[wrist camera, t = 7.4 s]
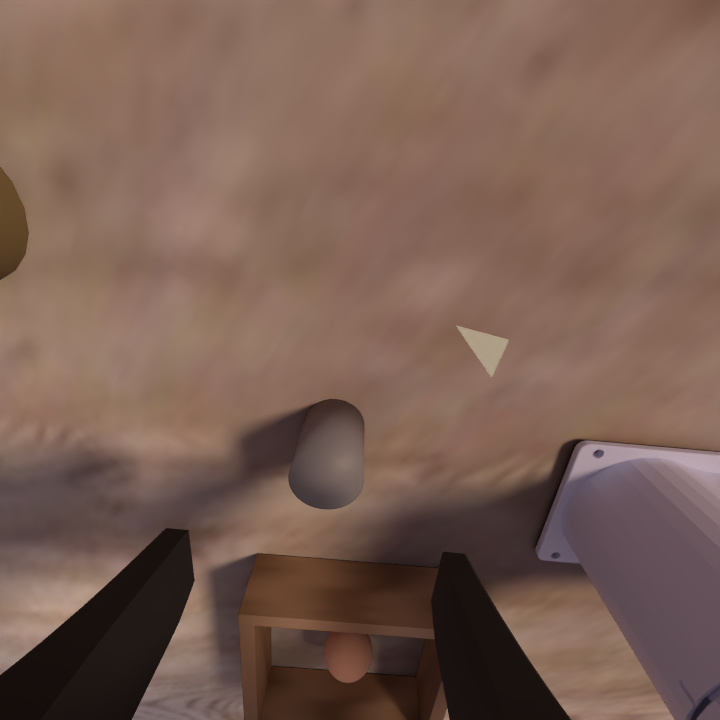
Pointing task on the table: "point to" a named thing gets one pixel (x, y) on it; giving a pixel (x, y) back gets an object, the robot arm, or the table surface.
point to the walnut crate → (337, 614)
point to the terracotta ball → (348, 655)
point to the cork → (11, 227)
